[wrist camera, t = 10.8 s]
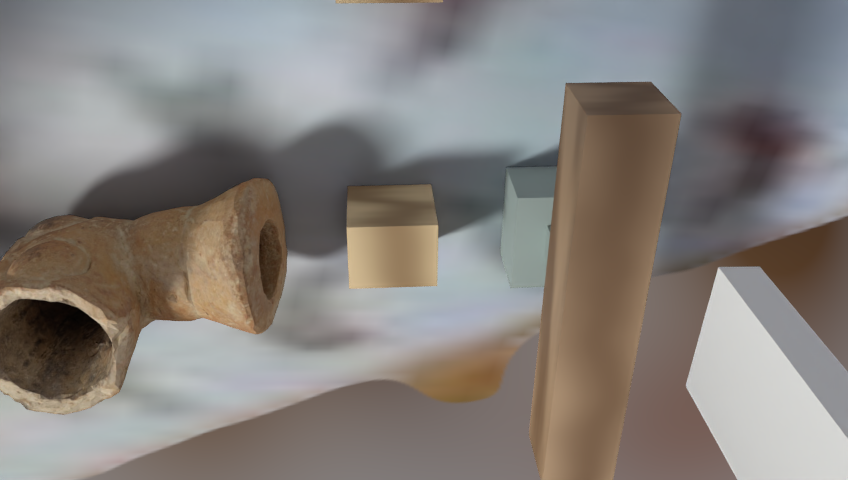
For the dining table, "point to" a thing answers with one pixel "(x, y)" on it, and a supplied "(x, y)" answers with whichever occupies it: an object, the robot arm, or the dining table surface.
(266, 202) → the pipe
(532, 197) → the block
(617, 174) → the rod
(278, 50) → the dining table surface
